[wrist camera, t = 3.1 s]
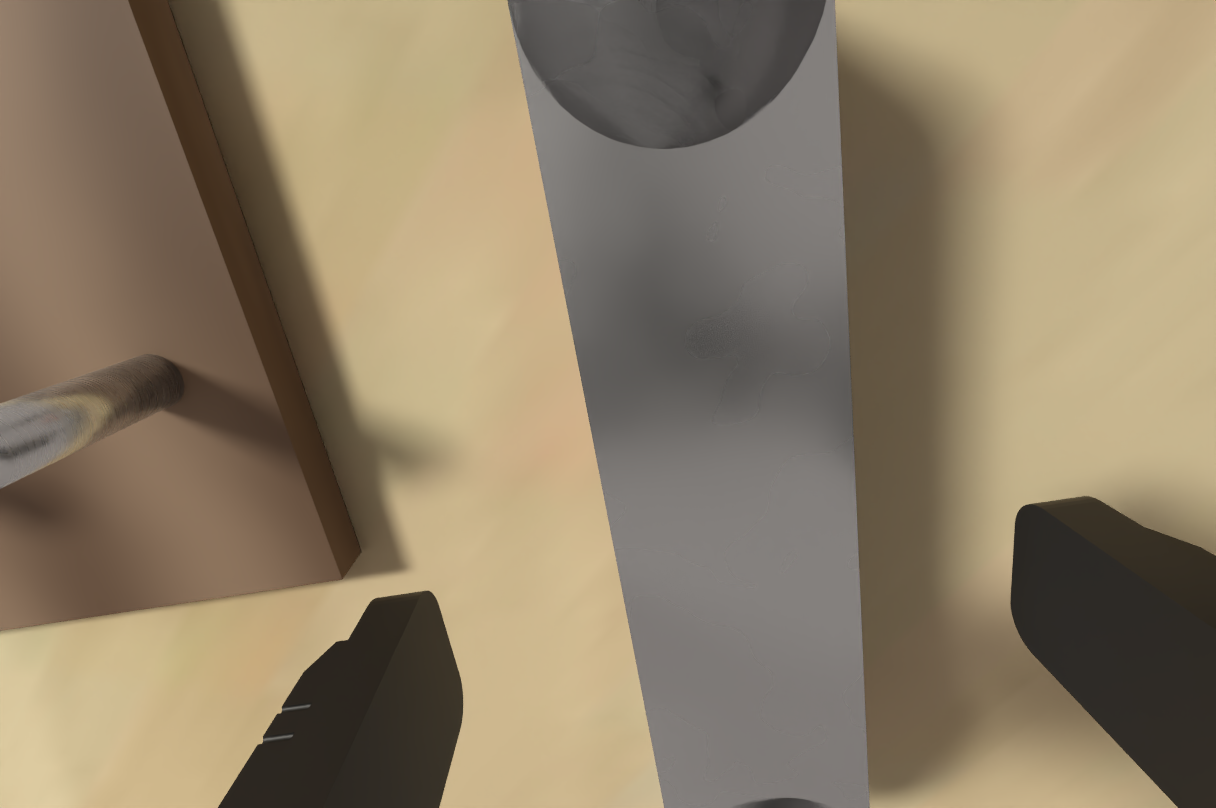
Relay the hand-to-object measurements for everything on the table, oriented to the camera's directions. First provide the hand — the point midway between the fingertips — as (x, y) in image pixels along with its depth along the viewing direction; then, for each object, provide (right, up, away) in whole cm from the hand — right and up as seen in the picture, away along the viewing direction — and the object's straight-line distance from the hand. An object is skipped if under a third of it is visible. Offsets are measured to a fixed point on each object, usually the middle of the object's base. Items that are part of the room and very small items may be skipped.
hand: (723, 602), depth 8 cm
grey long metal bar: (+1, +2, +6) cm, 7 cm away
